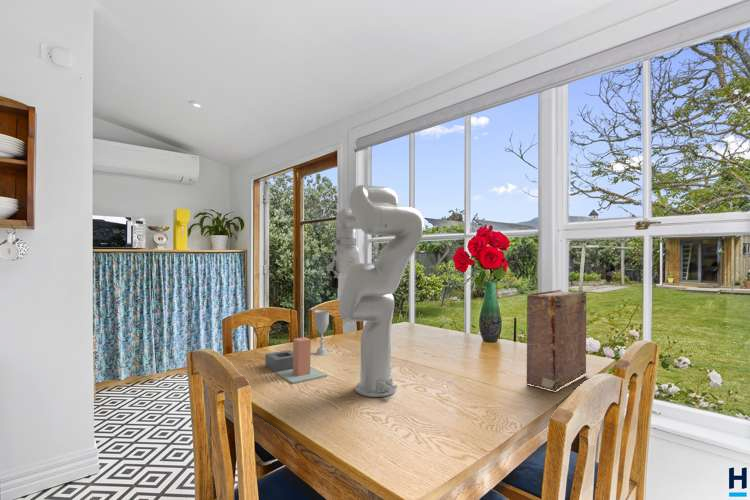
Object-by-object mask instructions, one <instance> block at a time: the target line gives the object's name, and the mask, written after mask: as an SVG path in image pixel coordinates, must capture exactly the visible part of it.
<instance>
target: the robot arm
mask: <svg viewBox="0 0 750 500" xmlns="http://www.w3.org/2000/svg"><path fill="white" fill-rule="evenodd" d="M348 202H349V203H348V204H349V207H344V208H342V209H341V210H338V212H336V218H335V219H336V221H335V222H336V223H335V225H336V227H335V228H336V232H335V237H336V239H334V240H333V243H334V244H335V246H334V249H333V256H332V261H331V263H329V264H327V265H326V266H325V269H326V271H327V274H328V275H329V276H330V277H329V278H331V289H334V290H338V289H339V278H338V277H339V275H340V274H346V275H345V278H344V283H343V286H342V290H341V292H340V297H339V301H338V308H337V309H338V314H339V316H340V318H341V319H342V320H343V321H345V322H366V323H365V324H364V325H363V328H362V330H361V333H360V381H359V382H358V383H357V384H356V385H355V392H356V393H357V394H358V395H361V396H364V397H371V398H385V397H389V396H391V395H392V394H394V393H396V390H397V388H398V386H397V385H396V384H394V383H393V377H391V376H392V373H391V371H392V367H391V365H392V323H393V316H394V311H395V297H394V295H393V294H394V293H395V292H396V291H397V290H398V287H399V286H400V283H401V281H402V278H403V276H404V273H405V271H406V269H407V266H408V264H409V262H410V259H411V258H412V256H413V255H414V253H415V252H416V251H417V249H418V247H419V245H420V243H421V241H422V237H423V234H424V218H423V215H422V214H421V212H420V211H419V210H418V209H416V208H415V207H412V206H409V205H408V206H406V205H398V202H399V199H398V195H397V193H396V192H395V191H394V190H393V189H392V188H390V187H387V186H379V185H378V186H377V185H376V186H375V185H368V184H367V185H366V184H364V185H363V184H360V185H357V186H355V187H353V189H352V190H351V192H350V194H349V198H348ZM357 230H361V231H362V232H364V233H365V234H367V235H371V236H394V237H393V239H391V240H390V241H388V242H387V243H386V244H385V245H384V246H383V247H382V248H381V249H380V251H379V255H378V257H377V260H376V261H375V262H372V263H371V262H370V263H369V262H368V263H364V262H363V263H361V262H360V252H359V248H358V246H356V245H357Z"/></svg>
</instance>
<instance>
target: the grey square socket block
mask: <svg viewBox="0 0 750 500" xmlns="http://www.w3.org/2000/svg"><path fill="white" fill-rule="evenodd" d="M264 363H265V365H264V366H265V367H266V368H268V369H269V370H271V371H273V372H275V373H276V372H280V371H285V370H290V369H293V350H291V349H289V350H283V351H282V350H281V351H277V352H269V353H265V361H264Z"/></svg>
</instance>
